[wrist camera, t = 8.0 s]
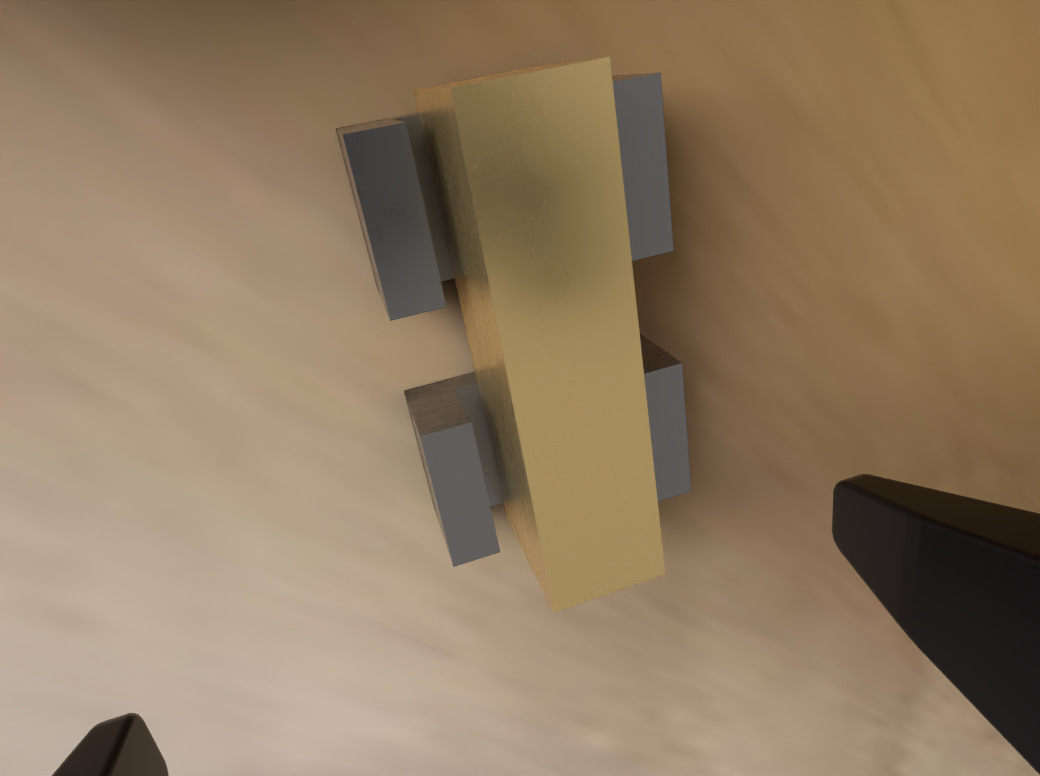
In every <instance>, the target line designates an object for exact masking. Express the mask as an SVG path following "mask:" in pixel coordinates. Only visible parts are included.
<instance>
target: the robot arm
mask: <svg viewBox="0 0 1040 776" xmlns="http://www.w3.org/2000/svg"><path fill="white" fill-rule="evenodd" d="M832 533H833V538H834V541H835V543H836V545H837V547H838V549H839V550H840V551H841V553H842V554H843V555H844V557H845V558H846V559H847V560H848V562H849V563H850V564H851V565H852V567H853V568H854V569H855V570H856V572H857V573H858V574H859V575H860V577H861V578H862V579H863V581H864V582H865V583H866V584H867V586H868V587H869V588H870V589H871V591H872V592H873V593H874V594H875V596H876V597H877V598H878V600H879V601H880V602H881V603H882V605H883V606H884V607H885V608H886V610H887V611H888V612H889V613H890V615H891V616H892V617H893V618H894V620H895V621H896V622H897V624H898V625H899V626H900V627H901V628H902V629H903V631H904V632H905V633H906V634H907V635H908V637H909V638H910V639H911V640H912V641H913V642H914V643H915V644H916V646H917V647H918V648H919V649H920V650H921V651H922V652H923V653H924V654H925V655H926V656H927V657H928V658H929V660H930V661H931V662H932V663H933V664H934V665H935V666H936V667H937V668H938V669H939V670H940V671H941V672H942V673H943V674H944V675H945V676H946V677H947V678H948V679H949V680H950V681H951V683H952V684H953V685H954V686H955V687H956V688H957V689H958V690H959V691H960V692H961V693H962V694H963V695H964V696H965V697H966V698H967V699H968V700H969V701H970V702H971V703H972V704H973V705H974V707H975V708H976V709H977V710H978V711H979V712H980V713H981V714H982V715H983V716H984V717H985V718H986V719H987V720H988V721H989V722H990V723H991V724H992V725H993V726H994V727H995V728H996V730H997V731H998V732H999V733H1000V734H1001V735H1002V736H1003V737H1004V738H1005V739H1006V740H1007V741H1008V742H1009V743H1010V744H1011V745H1012V746H1013V747H1014V748H1015V749H1016V750H1017V751H1018V753H1019V754H1020V755H1021V756H1022V757H1023V758H1024V759H1025V760H1026V761H1027V762H1028V763H1029V764H1030V765H1031V766H1032V767H1033V768H1034V769H1035V770H1036V771H1037V772H1038V773H1039V774H1040V514H1039V513H1034V512H1030V511H1026V510H1021V509H1017V508H1013V507H1008V506H1004V505H1000V504H995V503H991V502H987V501H982V500H978V499H973V498H969V497H965V496H960V495H956V494H952V493H947V492H943V491H939V490H934V489H930V488H926V487H921V486H917V485H912V484H908V483H904V482H899V481H895V480H891V479H886V478H882V477H878V476H873V475H869V474H861V475H857V476H854V477H851V478H848V479H845V480H842V481H840V482H838V483H837V484H836V486H835V488H834V492H833V518H832ZM52 776H168V770H167V766H166V763H165V760H164V758H163V756H162V754H161V752H160V750H159V749H158V747H157V745H156V743H155V741H154V739H153V737H152V735H151V733H150V731H149V730H148V728H147V726H146V724H145V722H144V720H143V719H142V718H141V717H140V716H139V715H138V714H136V713H128V714H125V715H122V716H119V717H116V718H113V719H110V720H107V721H104V722H101V723H99V724H97V725H96V726H94V727H93V728H92V729H91V730H90V731H89V732H88V734H87V735H86V736H85V737H84V738H83V739H82V741H81V742H80V743H79V744H78V745H77V747H76V748H75V749H74V750H73V751H72V752H71V754H70V755H69V756H68V757H67V758H66V759H65V761H64V762H63V763H62V764H61V765H60V767H59V768H58V769H57V770H56V771H55V772H54V774H53V775H52Z"/></svg>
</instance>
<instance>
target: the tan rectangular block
mask: <svg viewBox="0 0 1040 776" xmlns="http://www.w3.org/2000/svg"><path fill="white" fill-rule="evenodd" d="M414 94H415V99H416V103H417V108H418V113H419V117H420V122H421V126H422V131H423V136H424V140H425V145H426V149H427V154H428V158H429V163H430V168H431V172H432V177H433V181H434V186H435V191H436V195H437V200H438V204H439V209H440V213H441V218H442V223H443V227H444V232H445V236H446V241H447V245H448V250H449V255H450V259H451V264H452V268H453V273H454V278H455V282H456V287H457V291H458V296H459V300H460V305H461V310H462V314H463V319H464V323H465V328H466V333H467V337H468V342H469V346H470V351H471V355H472V360H473V365H474V369H475V374H476V378H477V383H478V387H479V392H480V397H481V401H482V406H483V410H484V415H485V420H486V424H487V429H488V433H489V438H490V442H491V447H492V452H493V456H494V461H495V465H496V470H497V475H498V479H499V484H500V488H501V493H502V497H503V502H504V507H505V511H506V516H507V518H508V520H509V522H510V524H511V526H512V528H513V530H514V532H515V534H516V536H517V538H518V540H519V542H520V544H521V546H522V548H523V550H524V552H525V555H526V557H527V559H528V561H529V563H530V565H531V567H532V569H533V571H534V573H535V575H536V577H537V579H538V581H539V583H540V585H541V587H542V589H543V591H544V593H545V595H546V597H547V599H548V601H549V603H550V605H551V608H552V610H553V612H557V611H560V610H563V609H566V608H569V607H572V606H575V605H578V604H580V603H583V602H586V601H589V600H592V599H595V598H598V597H601V596H604V595H606V594H609V593H612V592H615V591H618V590H621V589H624V588H627V587H630V586H632V585H635V584H638V583H641V582H644V581H647V580H650V579H653V578H655V577H658V576H661V575H664V574H665V565H664V556H663V546H662V537H661V528H660V518H659V509H658V500H657V491H656V481H655V472H654V463H653V453H652V444H651V435H650V425H649V416H648V407H647V397H646V388H645V379H644V369H643V360H642V351H641V342H640V332H639V323H638V314H637V304H636V295H635V286H634V276H633V267H632V258H631V248H630V239H629V230H628V221H627V211H626V202H625V193H624V183H623V174H622V165H621V155H620V146H619V137H618V127H617V118H616V109H615V99H614V90H613V81H612V72H611V62H610V57H604V58H596V59H588V60H580V61H573V62H565V63H557V64H549V65H542V66H535V67H530V68H525V69H519V70H514V71H509V72H504V73H499V74H494V75H489V76H483V77H478V78H473V79H468V80H463V81H458V82H453V83H447V84H442V85H437V86H432V87H427V88H422V89H417V90H414Z"/></svg>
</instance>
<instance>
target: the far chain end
mask: <svg viewBox="0 0 1040 776" xmlns="http://www.w3.org/2000/svg"><path fill="white" fill-rule="evenodd" d="M640 342H641V351H642V360H643V369H644V379H645V388H646V397H647V407H648V416H649V425H650V435H651V444H652V453H653V463H654V472H655V481H656V491H657V500H658V502H659V501H662V500H665V499H668V498H672V497H675V496H678V495H681V494H684V493H687V492H690V491H691V478H690V464H689V451H688V437H687V424H686V410H685V397H684V383H683V370H682V363H681V362H680V361H678V360H677V359H675V358H674V357H672V356H671V355H670V354H668V353H667V352H665V351H664V350H662V349H661V348H660V347H658V346H657V345H655V344H654V343H652V342H651V341H650V340H648V339H647V338H645V337H644V336H642V335H641V334H640ZM404 393H405V396H406V400H407V404H408V408H409V412H410V416H411V420H412V423H413V427H414V431H415V435H416V439H417V443H418V447H419V450H420V454H421V458H422V462H423V466H424V470H425V473H426V477H427V481H428V485H429V489H430V493H431V497H432V500H433V504H434V508H435V511H436V514H437V517H438V521H439V524H440V527H441V530H442V533H443V536H444V539H445V542H446V545H447V548H448V551H449V554H450V558H451V561H452V564H453V567H455V566H458V565H461V564H464V563H467V562H471V561H474V560H477V559H480V558H483V557H486V556H489V555H493V554H496V553H499V552H500V549H499V544H498V540H497V535H496V531H495V526H494V521H493V517H492V512H491V508H490V507H492V506H495V505H498V504H502V503H504V502H503V497H502V493H501V488H500V484H499V479H498V475H497V470H496V465H495V461H494V456H493V452H492V447H491V442H490V438H489V433H488V429H487V424H486V420H485V415H484V410H483V406H482V401H481V397H480V392H479V387H478V383H477V378H476V374H475V372H472V373H469V374H465V375H461V376H457V377H454V378H450V379H446V380H442V381H439V382H435V383H431V384H427V385H424V386H420V387H416V388H412V389H409V390H405V391H404Z"/></svg>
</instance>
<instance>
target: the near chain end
mask: <svg viewBox="0 0 1040 776" xmlns="http://www.w3.org/2000/svg"><path fill="white" fill-rule="evenodd" d="M612 81H613V90H614V99H615V109H616V118H617V127H618V137H619V146H620V155H621V165H622V174H623V183H624V193H625V202H626V211H627V221H628V230H629V239H630V248H631V258H632V261H635V260H639V259H643V258H647V257H651V256H655V255H659V254H663V253H667V252H671V251H674V248H673V235H672V221H671V208H670V194H669V181H668V167H667V154H666V140H665V127H664V113H663V100H662V86H661V73H649V74H634V75H619V76H612ZM336 131H337V135H338V138H339V142H340V146H341V150H342V154H343V158H344V161H345V165H346V169H347V173H348V177H349V181H350V185H351V188H352V192H353V196H354V200H355V204H356V208H357V212H358V215H359V219H360V223H361V227H362V231H363V235H364V239H365V242H366V246H367V250H368V254H369V258H370V262H371V265H372V269H373V273H374V277H375V281H376V285H377V289H378V291H379V294H380V296H381V299H382V301H383V304H384V306H385V309H386V311H387V314H388V316H389V319H390V321H392V320H396V319H400V318H404V317H408V316H412V315H416V314H420V313H424V312H428V311H432V310H436V309H440V308H444V307H446V303H445V298H444V294H443V289H442V284H441V282H442V281H446V280H450V279H454V273H453V268H452V264H451V259H450V255H449V250H448V245H447V241H446V236H445V232H444V227H443V223H442V218H441V213H440V209H439V204H438V200H437V195H436V191H435V186H434V181H433V177H432V172H431V168H430V163H429V158H428V154H427V149H426V145H425V140H424V136H423V131H422V126H421V122H420V117H419V113H414V114H409V115H404V116H399V117H393V118H388V119H383V120H378V121H373V122H367V123H362V124H357V125H352V126H347V127H342V128H336Z"/></svg>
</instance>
